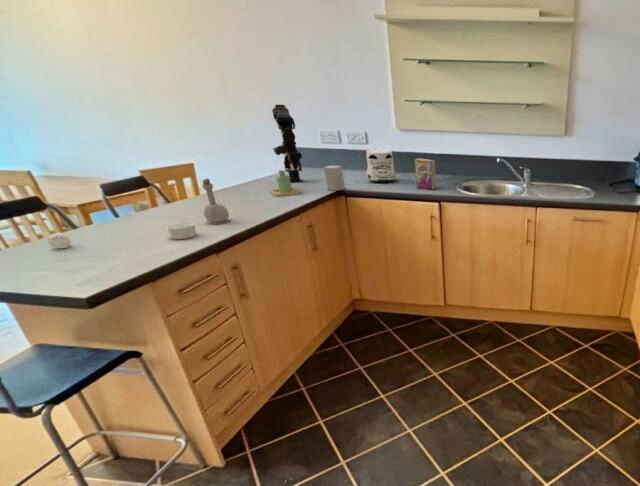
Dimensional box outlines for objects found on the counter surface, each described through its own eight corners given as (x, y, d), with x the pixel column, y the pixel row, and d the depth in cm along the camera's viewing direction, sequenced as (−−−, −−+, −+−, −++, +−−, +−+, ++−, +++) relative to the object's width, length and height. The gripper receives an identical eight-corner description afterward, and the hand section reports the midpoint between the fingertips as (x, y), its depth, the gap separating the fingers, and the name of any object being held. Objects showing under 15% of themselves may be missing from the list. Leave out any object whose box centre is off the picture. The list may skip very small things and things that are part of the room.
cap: (289, 170, 231) (288, 164, 229) (294, 168, 234) (293, 163, 233) (296, 170, 230) (295, 165, 229) (300, 169, 234) (299, 163, 233)
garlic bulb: (71, 243, 152) (64, 228, 149) (74, 246, 148) (67, 232, 146) (50, 246, 148) (42, 232, 145) (53, 250, 144) (45, 235, 142)
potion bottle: (235, 220, 181) (223, 178, 173) (216, 225, 174) (202, 182, 166) (220, 217, 184) (207, 176, 175) (201, 223, 176) (187, 180, 168)
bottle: (277, 192, 226) (271, 170, 221) (287, 190, 231) (283, 169, 226) (284, 194, 224) (279, 172, 218) (295, 192, 229) (290, 170, 223)
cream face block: (381, 185, 251) (378, 154, 243) (362, 181, 259) (358, 151, 251) (402, 180, 264) (399, 151, 256) (383, 177, 272) (380, 148, 264)
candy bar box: (416, 187, 248) (413, 159, 240) (421, 186, 252) (419, 158, 244) (431, 190, 244) (430, 161, 236) (436, 188, 248) (435, 160, 240)
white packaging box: (345, 188, 242) (342, 165, 236) (339, 190, 235) (336, 167, 230) (333, 187, 242) (329, 165, 237) (327, 190, 236) (323, 167, 230)
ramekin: (170, 235, 162) (166, 224, 160) (197, 231, 167) (193, 220, 165) (170, 241, 156) (166, 230, 154) (198, 237, 161) (195, 226, 159)
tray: (271, 192, 228) (270, 189, 227) (295, 189, 235) (294, 187, 234) (276, 196, 220) (275, 194, 219) (300, 193, 226) (300, 191, 226)
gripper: (268, 138, 227) (275, 168, 234) (276, 142, 214) (283, 173, 221) (290, 137, 233) (296, 166, 240) (299, 141, 220) (305, 171, 228)
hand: (294, 169), depth 232 cm, fingers closed on cap, 4 cm apart
